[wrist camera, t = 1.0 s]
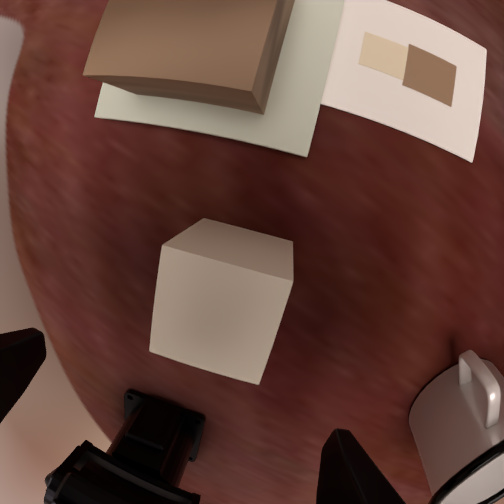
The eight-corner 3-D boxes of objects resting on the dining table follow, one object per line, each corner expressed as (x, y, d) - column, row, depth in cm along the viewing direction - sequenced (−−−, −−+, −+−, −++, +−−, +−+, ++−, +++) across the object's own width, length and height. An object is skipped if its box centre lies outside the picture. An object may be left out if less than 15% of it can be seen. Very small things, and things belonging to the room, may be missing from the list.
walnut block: (263, 114, 14) (251, 91, 9) (136, 94, 14) (82, 75, 10) (295, -1, 12) (294, -55, 7) (172, -12, 12) (136, -55, 8)
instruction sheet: (470, 162, 14) (472, 162, 14) (291, 96, 15) (291, 95, 15) (485, 50, 12) (486, 49, 12) (320, -18, 12) (320, -20, 12)
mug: (497, 409, 19) (537, 477, 10) (406, 453, 21) (427, 534, 12) (503, 301, 16) (580, 369, 7) (386, 356, 18) (428, 464, 9)
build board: (305, 157, 16) (307, 156, 14) (105, 118, 16) (94, 117, 15) (343, 0, 13) (346, -9, 12) (150, -20, 13) (143, -28, 12)
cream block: (269, 320, 18) (258, 384, 13) (188, 297, 19) (149, 351, 13) (292, 241, 17) (293, 281, 11) (204, 217, 17) (162, 245, 11)
